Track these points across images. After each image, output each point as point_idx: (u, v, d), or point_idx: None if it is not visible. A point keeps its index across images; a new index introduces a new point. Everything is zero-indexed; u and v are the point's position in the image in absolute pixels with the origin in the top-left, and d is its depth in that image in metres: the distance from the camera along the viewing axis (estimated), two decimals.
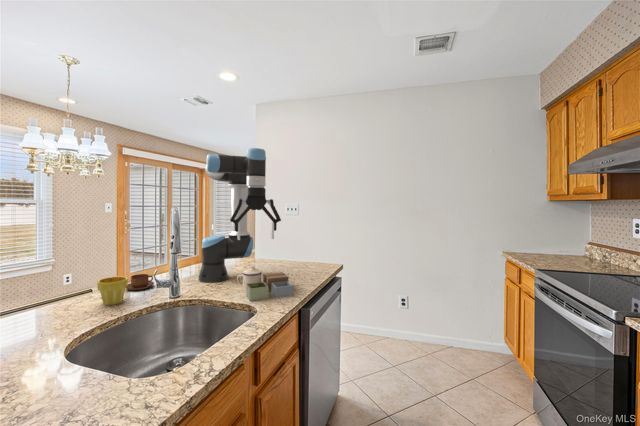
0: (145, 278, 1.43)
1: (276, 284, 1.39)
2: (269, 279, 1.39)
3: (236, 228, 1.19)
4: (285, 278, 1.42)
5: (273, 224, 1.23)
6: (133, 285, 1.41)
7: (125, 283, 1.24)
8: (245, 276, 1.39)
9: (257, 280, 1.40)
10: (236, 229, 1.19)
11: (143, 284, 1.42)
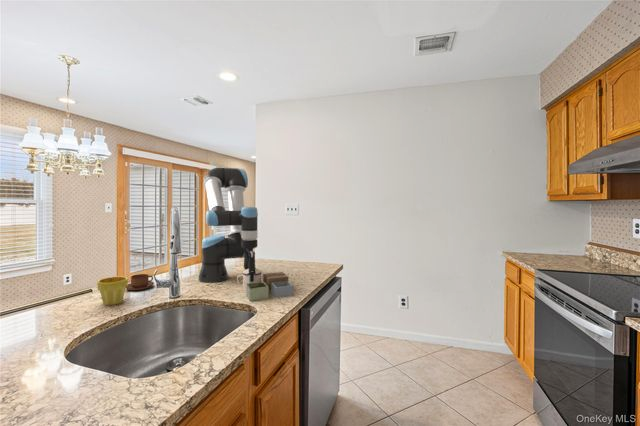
0: (145, 278, 1.43)
1: (276, 284, 1.39)
2: (269, 279, 1.39)
3: None
4: (285, 278, 1.42)
5: (248, 275, 1.37)
6: (133, 285, 1.41)
7: (125, 283, 1.24)
8: (245, 276, 1.39)
9: (257, 280, 1.40)
10: None
11: (143, 284, 1.42)
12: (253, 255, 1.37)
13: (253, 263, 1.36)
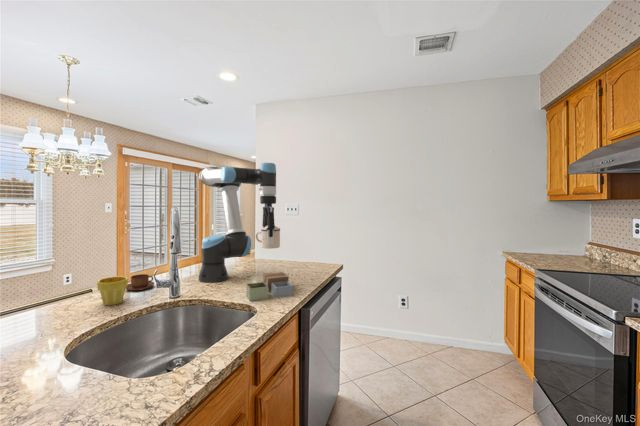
0: (145, 278, 1.42)
1: (276, 284, 1.39)
2: (269, 279, 1.39)
3: None
4: (285, 278, 1.42)
5: (267, 231, 1.38)
6: (133, 285, 1.40)
7: (125, 283, 1.24)
8: (264, 232, 1.40)
9: (276, 236, 1.40)
10: None
11: (143, 284, 1.42)
12: (272, 210, 1.36)
13: (272, 218, 1.36)
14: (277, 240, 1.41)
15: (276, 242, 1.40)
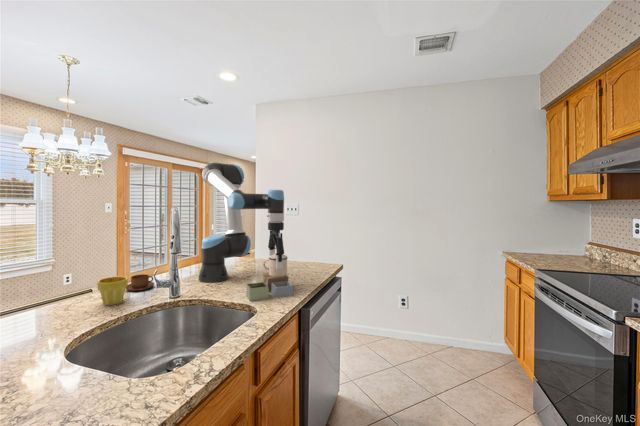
0: (145, 278, 1.42)
1: (276, 284, 1.39)
2: (269, 279, 1.39)
3: None
4: (285, 278, 1.42)
5: (276, 255, 1.37)
6: (133, 286, 1.40)
7: (125, 283, 1.24)
8: (272, 261, 1.41)
9: (283, 265, 1.42)
10: None
11: (143, 285, 1.41)
12: (281, 235, 1.38)
13: (281, 243, 1.37)
14: (285, 268, 1.43)
15: (283, 271, 1.42)
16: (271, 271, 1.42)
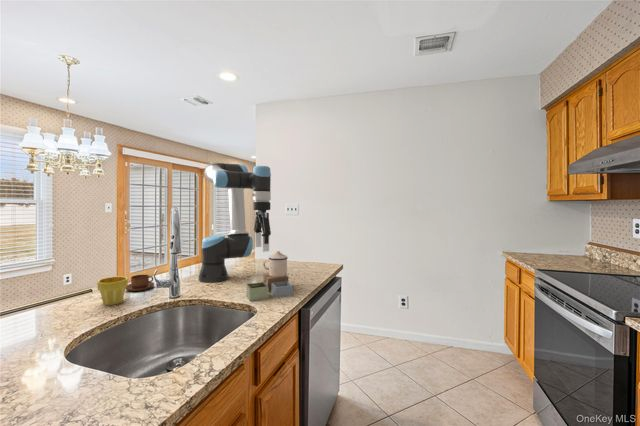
0: (145, 279, 1.42)
1: (276, 284, 1.39)
2: (269, 279, 1.39)
3: None
4: (285, 278, 1.42)
5: (262, 237, 1.25)
6: (133, 286, 1.40)
7: (125, 283, 1.24)
8: (272, 261, 1.41)
9: (283, 265, 1.42)
10: None
11: (143, 285, 1.41)
12: (267, 215, 1.26)
13: (267, 223, 1.25)
14: (285, 268, 1.43)
15: (283, 271, 1.42)
16: (271, 271, 1.42)
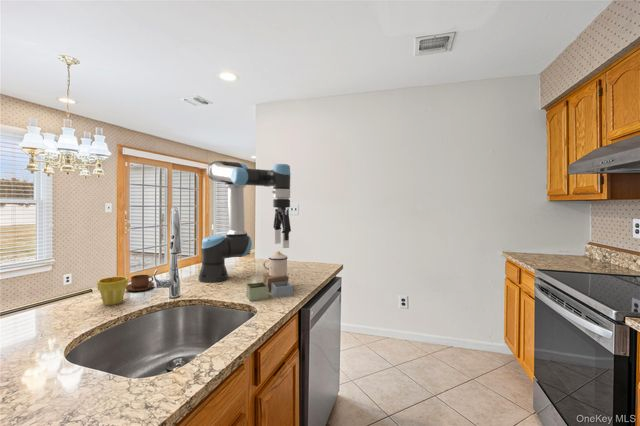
0: (145, 279, 1.42)
1: (276, 284, 1.39)
2: (269, 279, 1.39)
3: None
4: (285, 278, 1.42)
5: None
6: (133, 286, 1.39)
7: (125, 283, 1.24)
8: (272, 261, 1.41)
9: (283, 265, 1.42)
10: None
11: (143, 285, 1.41)
12: (287, 212, 1.28)
13: (288, 220, 1.27)
14: (285, 268, 1.43)
15: (283, 271, 1.42)
16: (271, 271, 1.42)
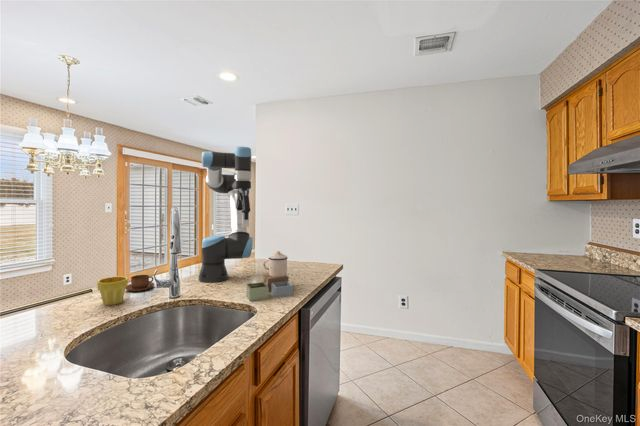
0: (146, 279, 1.42)
1: (276, 284, 1.39)
2: (269, 279, 1.39)
3: None
4: (285, 278, 1.42)
5: (242, 213, 1.35)
6: (133, 286, 1.39)
7: (125, 283, 1.24)
8: (272, 261, 1.41)
9: (283, 265, 1.42)
10: None
11: (144, 285, 1.41)
12: (247, 193, 1.35)
13: (247, 201, 1.34)
14: (285, 268, 1.43)
15: (283, 271, 1.42)
16: (271, 271, 1.42)
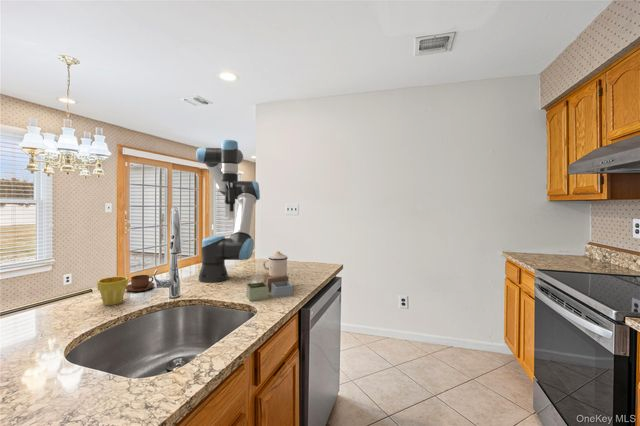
0: (146, 279, 1.41)
1: (276, 284, 1.39)
2: (269, 279, 1.39)
3: None
4: (285, 278, 1.42)
5: (228, 205, 1.36)
6: (134, 286, 1.39)
7: (125, 283, 1.24)
8: (272, 261, 1.41)
9: (283, 265, 1.42)
10: None
11: (144, 285, 1.41)
12: (232, 185, 1.36)
13: (233, 192, 1.35)
14: (285, 268, 1.43)
15: (283, 271, 1.42)
16: (271, 271, 1.42)
